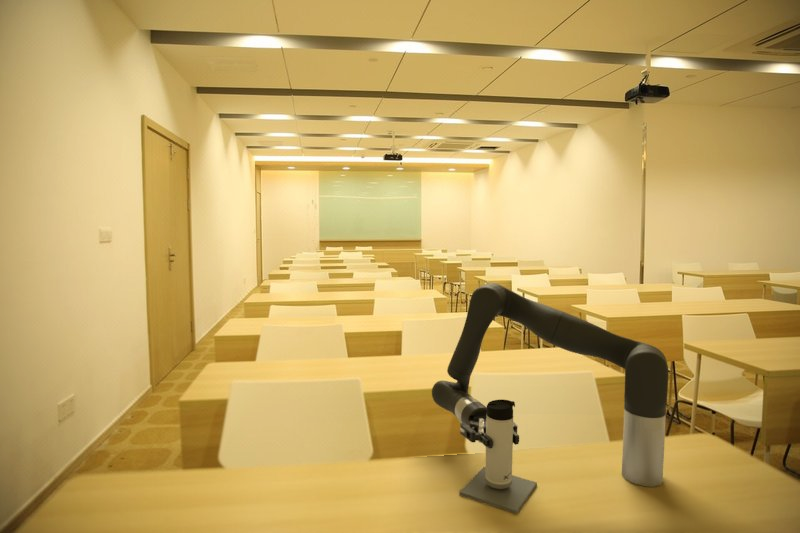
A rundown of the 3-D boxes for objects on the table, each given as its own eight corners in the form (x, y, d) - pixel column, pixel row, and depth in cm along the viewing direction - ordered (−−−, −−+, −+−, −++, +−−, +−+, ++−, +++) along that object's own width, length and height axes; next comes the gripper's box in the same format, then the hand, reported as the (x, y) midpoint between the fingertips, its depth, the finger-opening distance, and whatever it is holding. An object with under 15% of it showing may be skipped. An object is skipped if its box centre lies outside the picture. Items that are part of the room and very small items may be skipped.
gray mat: (483, 469, 126) (483, 466, 126) (536, 485, 118) (536, 482, 118) (459, 495, 114) (459, 491, 114) (516, 514, 107) (516, 510, 107)
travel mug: (513, 491, 113) (515, 407, 110) (484, 487, 114) (486, 405, 112) (512, 476, 119) (514, 397, 117) (485, 474, 120) (486, 396, 118)
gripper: (448, 404, 126) (476, 431, 110) (498, 398, 130) (532, 423, 114) (448, 432, 127) (476, 462, 111) (497, 425, 131) (531, 453, 115)
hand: (504, 442), depth 113 cm, fingers closed on travel mug, 6 cm apart
